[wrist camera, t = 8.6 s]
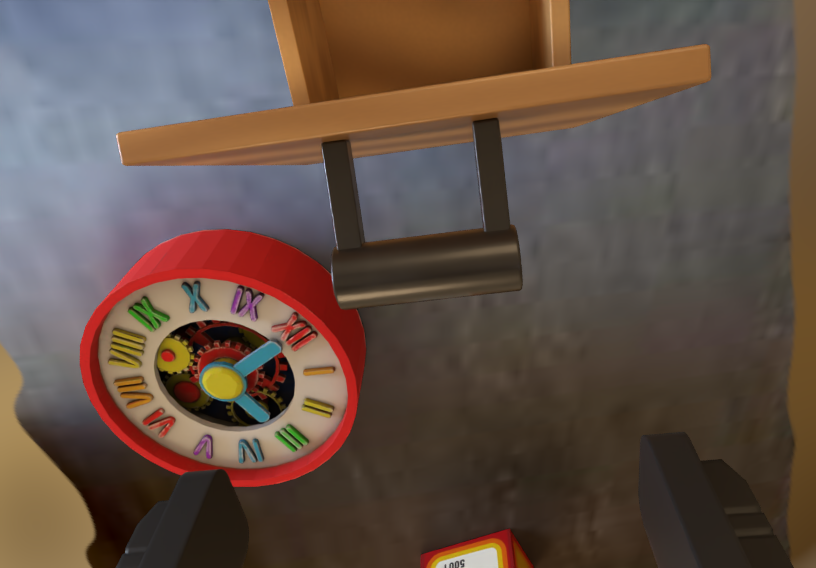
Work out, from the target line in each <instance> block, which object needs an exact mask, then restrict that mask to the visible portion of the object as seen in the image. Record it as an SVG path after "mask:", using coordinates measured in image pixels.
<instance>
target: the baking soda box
mask: <svg viewBox="0 0 816 568" xmlns="http://www.w3.org/2000/svg"><path fill="white" fill-rule="evenodd" d="M421 568H534V567H533V565H532V563H531V562H530V560H529V559H528V557H527V555H526V554H525V552H524V551H523V549H522V548H521V546H520V544H519V543H518V541H517V540H516V538H515V536H514V535H513V533H512V532H511V530H510V529H506V530H503V531H499V532H496V533H493V534H489V535H486V536H482V537H479V538H476V539H472V540H469V541H465V542H462V543H459V544H455V545H452V546H448V547H445V548H442V549H438V550H435V551H431V552H428V553H425V554H421Z"/></svg>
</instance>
